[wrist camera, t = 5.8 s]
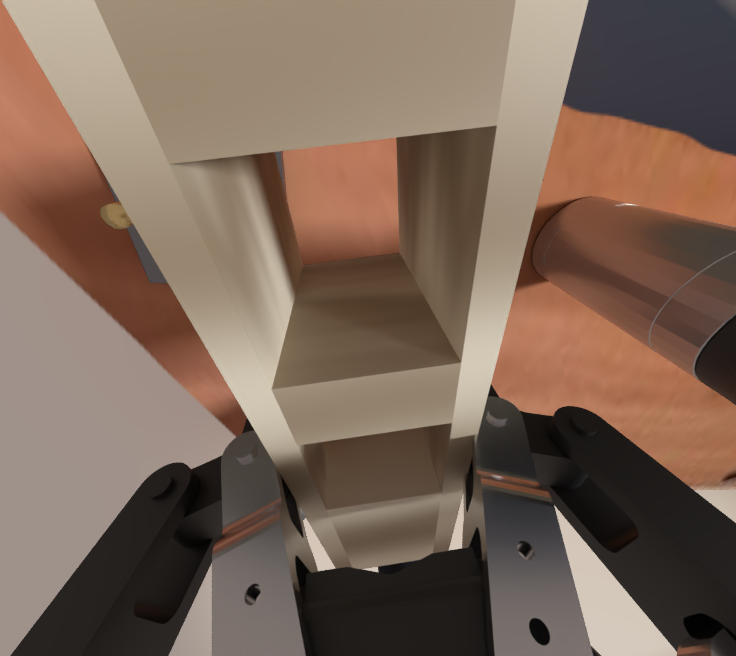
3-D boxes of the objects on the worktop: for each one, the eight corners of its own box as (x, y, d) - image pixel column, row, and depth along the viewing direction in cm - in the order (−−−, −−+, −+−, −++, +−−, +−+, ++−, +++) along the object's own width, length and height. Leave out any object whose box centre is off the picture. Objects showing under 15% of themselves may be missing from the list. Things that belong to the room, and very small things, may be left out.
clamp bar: (415, 436, 17) (447, 555, 12) (337, 447, 17) (338, 572, 12) (420, 75, 7) (603, -60, 2) (233, 96, 7) (3, 1, 2)
